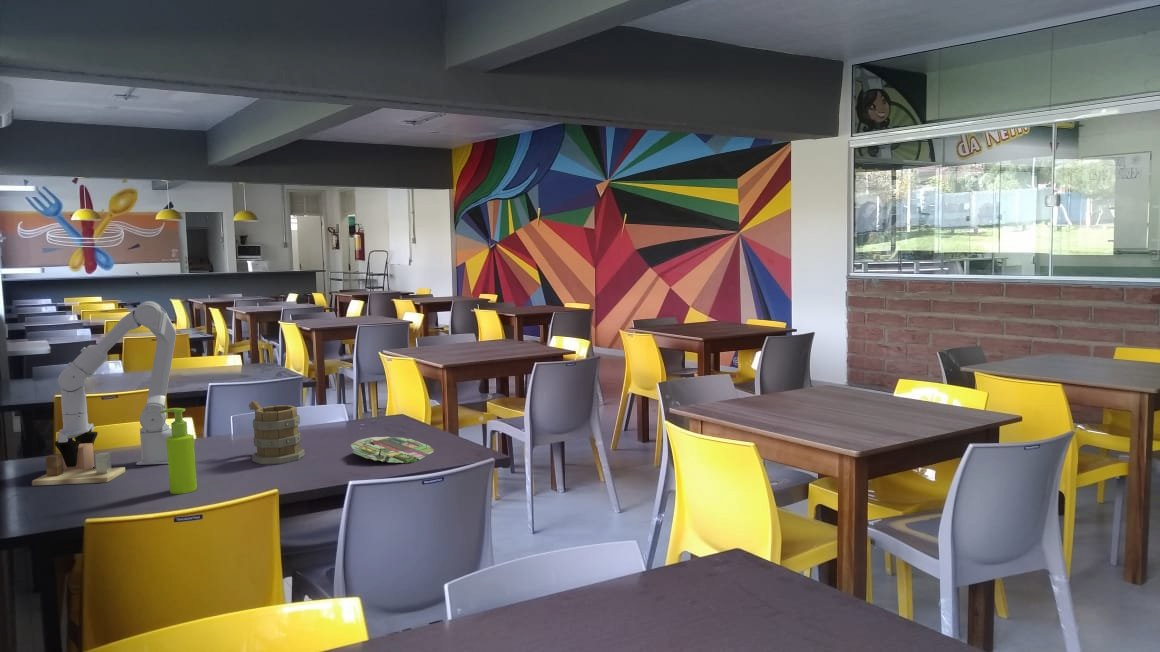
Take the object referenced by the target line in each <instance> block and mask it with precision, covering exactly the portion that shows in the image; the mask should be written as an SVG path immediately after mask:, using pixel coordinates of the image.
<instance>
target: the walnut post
mask: <svg viewBox="0 0 1160 652" xmlns="http://www.w3.org/2000/svg"><path fill="white" fill-rule="evenodd" d="M44 459H45V465H46V466H45V467H46V468H45V470H46V474H47V477H50V476H59V475H61V474H63V470H64V465H63V457H62V454H61V453H60V454H59V453H58V454H50V455H47V456H45V457H44Z"/></svg>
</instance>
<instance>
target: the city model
mask: <svg viewBox="0 0 1160 652" xmlns="http://www.w3.org/2000/svg"><path fill="white" fill-rule="evenodd" d="M349 446H351V448H352V453H353V454H355V455H357V456H360V457H362V458H365V459H366V460H368V459H370V460H373V461H381V462H387V463H402V464H403V463H404V464H406V465H408V464H410V463H416V462H417V461H420V460H421V459H423V458H425V457H427V456H429V455H430V454H432V453H434V451H435V449H433V448H432V447H431V446H430V445H428V443H427V442H425V443H422V442H421V441H418V440H414V439H412V438H405V437H397V436H396V437H394V436H373V437H366V438H362V439H358V440H356V441H355V442H353V443H351V444H349Z"/></svg>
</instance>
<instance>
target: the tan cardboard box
mask: <svg viewBox="0 0 1160 652" xmlns="http://www.w3.org/2000/svg"><path fill="white" fill-rule="evenodd" d="M62 465H63V470H74V469H94V468H95V455H94V444H93V443H85V444H79V447H78V451H77V464H76V466H75V467H66V464H65V462H64V459H63V458H62ZM93 467H94V468H93Z"/></svg>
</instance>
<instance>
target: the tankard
mask: <svg viewBox="0 0 1160 652" xmlns="http://www.w3.org/2000/svg"><path fill="white" fill-rule="evenodd" d="M248 407H249V409H250V410H251V411H252V410H253V411H254V419H252V428H253V433H254V434H253V435H254V437H253V446H254V447H256V452H255V453H254V454H252V455H251V461H252V462H254V463H257V464H259V465H281V464H286V463H291V462H296V461H299V460H300V459H301V458H302V457H304V456H305V454H306V453H305V449H303V448H300V447H299V446H300V444H299V443H300V442H301V441H302V435H301V434H302V432H300V431H299V426H298V425H300V423H301V419H300V418H301V417H300V415H298V409H297V406H294V405H288V404H287V405H286V404H284V405H282V404H281V405H280V404H279V405H275V406H274V405H269V406H264V407H262V406H261V405H260V404H259V403H258V402H257V400H252V401H251V402H250V403H249V404H248Z"/></svg>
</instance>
